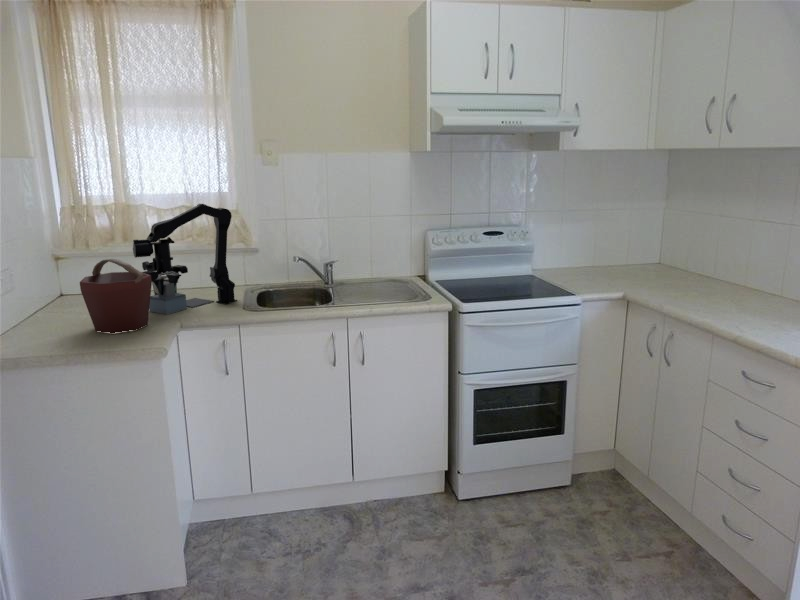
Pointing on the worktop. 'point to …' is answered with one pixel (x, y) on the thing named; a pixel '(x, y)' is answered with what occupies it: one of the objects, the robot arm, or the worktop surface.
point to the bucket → (117, 298)
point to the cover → (168, 300)
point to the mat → (197, 302)
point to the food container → (164, 281)
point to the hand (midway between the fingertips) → (166, 293)
